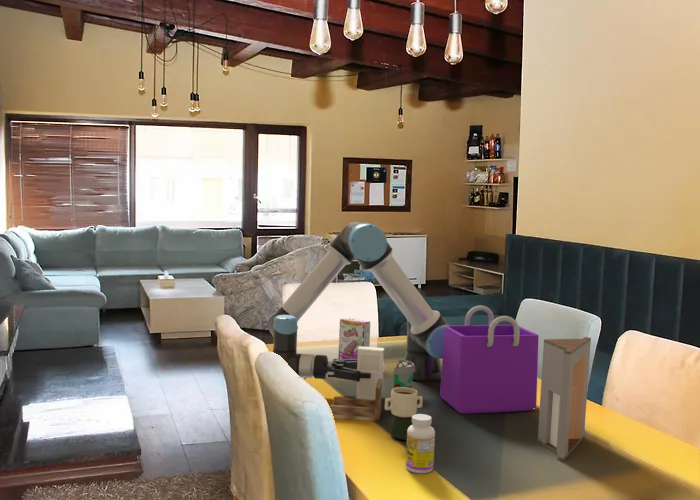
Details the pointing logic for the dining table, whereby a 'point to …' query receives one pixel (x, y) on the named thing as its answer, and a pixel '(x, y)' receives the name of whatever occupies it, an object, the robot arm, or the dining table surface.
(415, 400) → the character mug
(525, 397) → the shopping bag
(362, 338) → the candy bar box
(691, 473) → the dining table surface
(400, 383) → the food container
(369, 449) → the dining table surface
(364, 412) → the wooden holder
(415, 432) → the supplement bottle
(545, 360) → the grey tall angular block
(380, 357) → the white rectangular box
